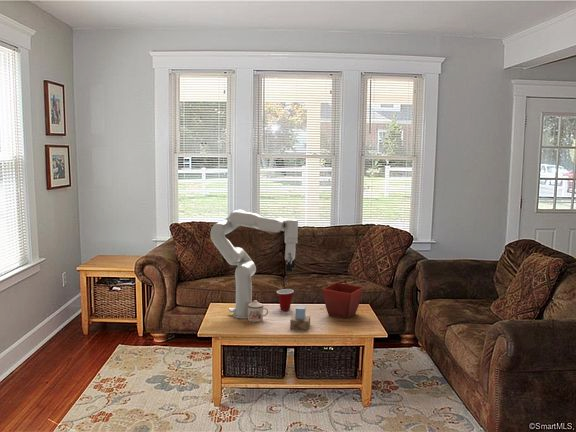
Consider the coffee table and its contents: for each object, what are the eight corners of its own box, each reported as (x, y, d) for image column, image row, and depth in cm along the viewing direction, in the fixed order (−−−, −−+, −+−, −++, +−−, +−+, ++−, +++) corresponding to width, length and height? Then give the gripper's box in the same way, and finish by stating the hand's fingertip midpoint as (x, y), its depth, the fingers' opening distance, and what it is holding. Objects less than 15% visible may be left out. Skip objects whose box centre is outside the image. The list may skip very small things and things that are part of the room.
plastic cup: (275, 307, 342) (275, 288, 341) (292, 306, 343) (292, 288, 342) (276, 311, 331) (277, 292, 330) (294, 311, 333) (294, 292, 331)
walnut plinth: (290, 328, 300) (290, 320, 299) (292, 323, 310) (292, 314, 309) (307, 330, 298) (308, 321, 298) (309, 324, 308) (310, 316, 308)
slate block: (295, 319, 301) (295, 308, 301) (296, 316, 306) (296, 306, 306) (304, 319, 301) (304, 309, 300) (305, 317, 306) (305, 306, 305)
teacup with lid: (247, 322, 310) (247, 302, 309) (248, 317, 319) (248, 298, 318) (267, 322, 310) (268, 302, 309) (268, 317, 319) (268, 298, 318)
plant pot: (349, 321, 316) (350, 293, 314) (320, 315, 326) (321, 288, 324) (362, 313, 332) (363, 287, 330) (335, 308, 342) (335, 282, 340)
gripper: (287, 237, 320) (286, 266, 322) (282, 242, 303) (281, 272, 305) (299, 238, 318) (298, 266, 320) (295, 242, 302) (294, 272, 303)
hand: (290, 269), depth 312 cm, fingers open, 9 cm apart
